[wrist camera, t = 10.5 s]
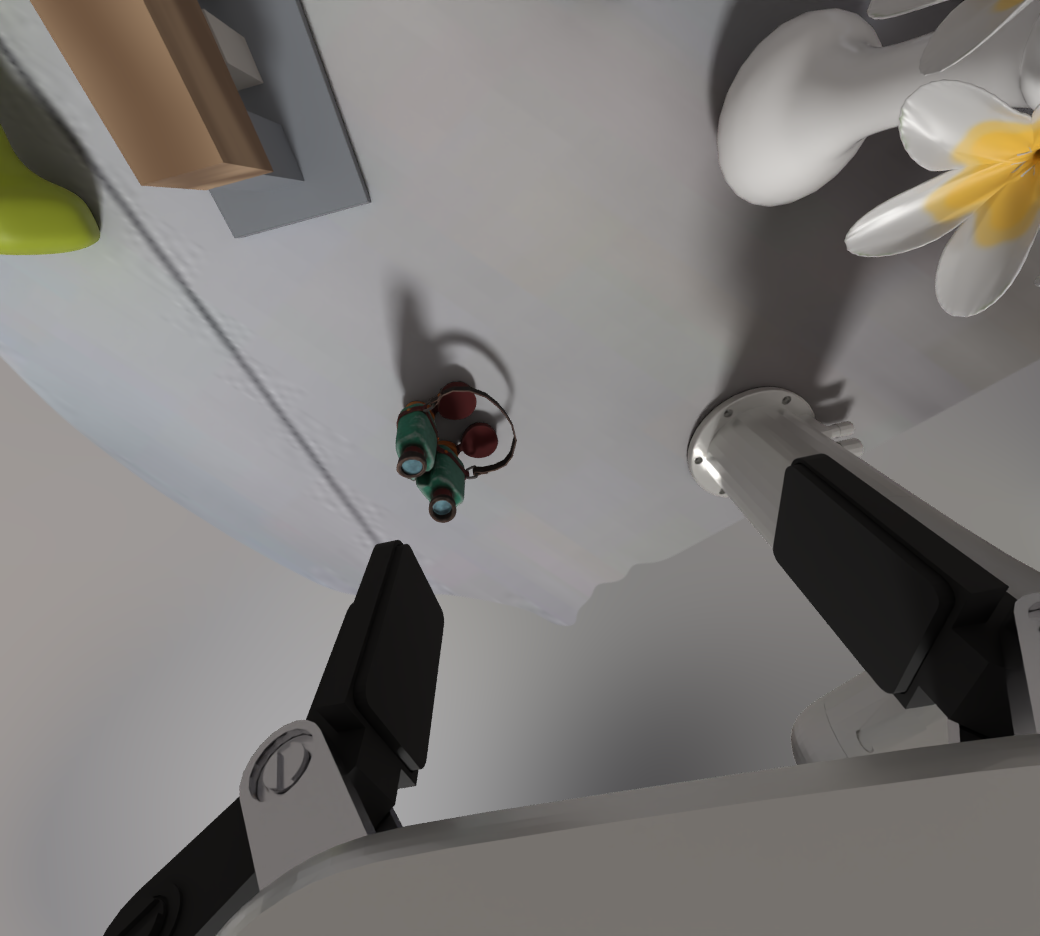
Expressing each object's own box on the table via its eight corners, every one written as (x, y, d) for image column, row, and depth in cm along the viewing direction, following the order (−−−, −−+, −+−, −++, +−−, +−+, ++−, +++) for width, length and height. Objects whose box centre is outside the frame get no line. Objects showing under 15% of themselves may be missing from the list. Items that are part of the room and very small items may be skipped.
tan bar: (107, -201, 16) (-32, -352, 12) (273, 171, 22) (223, 162, 18) (15, -170, 16) (-154, -305, 12) (206, 190, 22) (141, 185, 18)
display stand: (239, -169, 20) (138, -322, 14) (371, 202, 29) (341, 199, 23) (61, -107, 21) (-106, -231, 15) (241, 237, 30) (180, 244, 24)
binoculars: (541, 491, 32) (430, 543, 33) (520, 434, 41) (433, 476, 42) (491, 395, 27) (362, 459, 28) (479, 355, 36) (382, 404, 37)
